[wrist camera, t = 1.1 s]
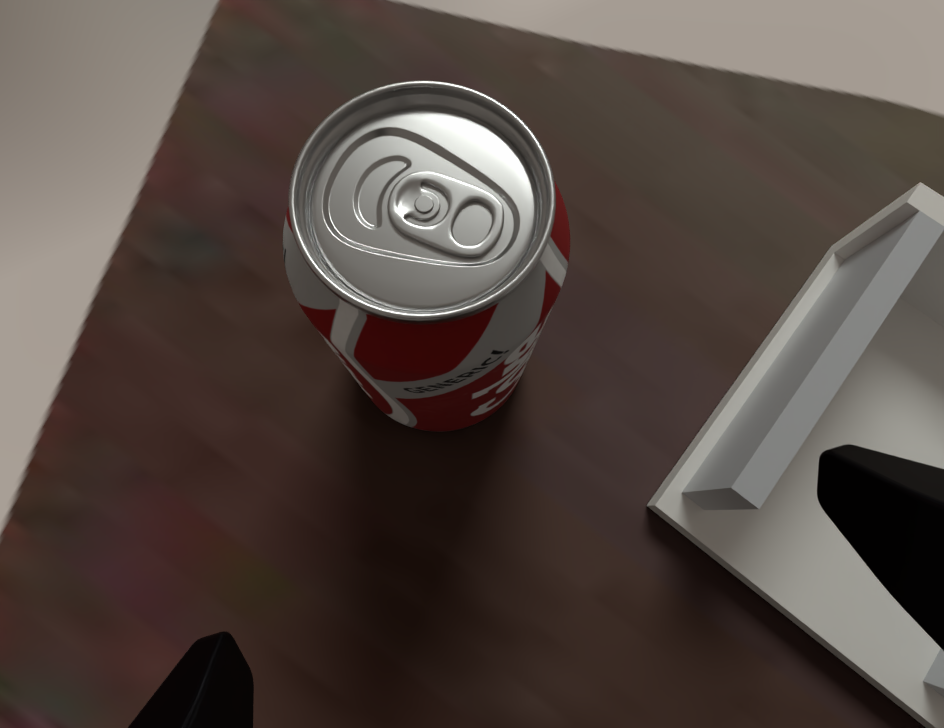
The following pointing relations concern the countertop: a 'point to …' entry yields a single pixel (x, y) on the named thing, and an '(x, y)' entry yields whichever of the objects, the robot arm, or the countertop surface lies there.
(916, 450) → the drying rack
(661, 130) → the countertop surface
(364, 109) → the soda can
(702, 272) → the countertop surface
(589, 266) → the countertop surface
